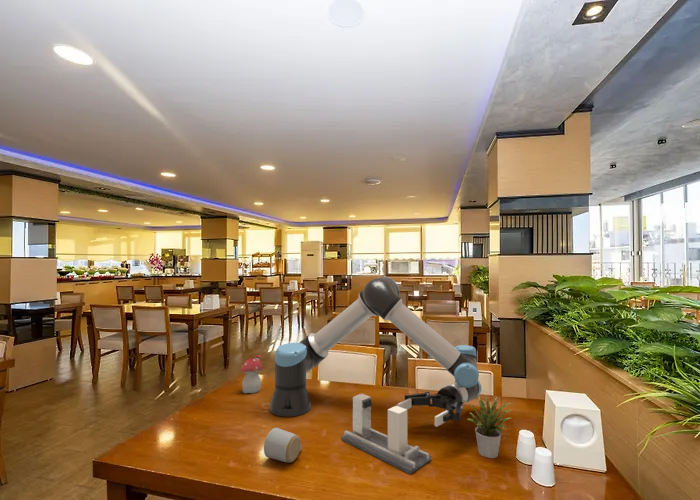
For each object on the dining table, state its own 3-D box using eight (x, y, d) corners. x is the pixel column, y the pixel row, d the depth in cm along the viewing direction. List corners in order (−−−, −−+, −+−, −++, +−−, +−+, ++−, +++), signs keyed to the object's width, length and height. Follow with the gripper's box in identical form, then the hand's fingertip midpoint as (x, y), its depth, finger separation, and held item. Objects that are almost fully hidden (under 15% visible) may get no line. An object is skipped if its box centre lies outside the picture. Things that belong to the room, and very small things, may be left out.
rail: (341, 439, 113) (341, 397, 114) (363, 429, 120) (363, 389, 121) (410, 474, 95) (410, 423, 95) (431, 459, 102) (431, 412, 102)
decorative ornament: (261, 387, 160) (261, 353, 161) (263, 392, 154) (264, 356, 155) (239, 390, 157) (239, 355, 157) (240, 395, 151) (241, 358, 151)
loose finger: (386, 451, 105) (386, 408, 105) (394, 446, 107) (394, 405, 108) (398, 457, 101) (398, 413, 102) (407, 452, 104) (407, 409, 105)
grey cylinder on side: (287, 469, 97) (288, 439, 98) (262, 462, 101) (263, 433, 101) (308, 451, 107) (308, 424, 107) (284, 445, 110) (285, 419, 111)
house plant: (531, 459, 102) (530, 400, 103) (499, 474, 95) (498, 410, 96) (488, 438, 114) (487, 385, 115) (457, 450, 107) (456, 393, 108)
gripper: (487, 418, 117) (453, 441, 102) (421, 398, 135) (384, 415, 120) (487, 395, 117) (453, 414, 102) (421, 377, 135) (384, 391, 120)
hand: (416, 414), depth 111 cm, fingers open, 13 cm apart
